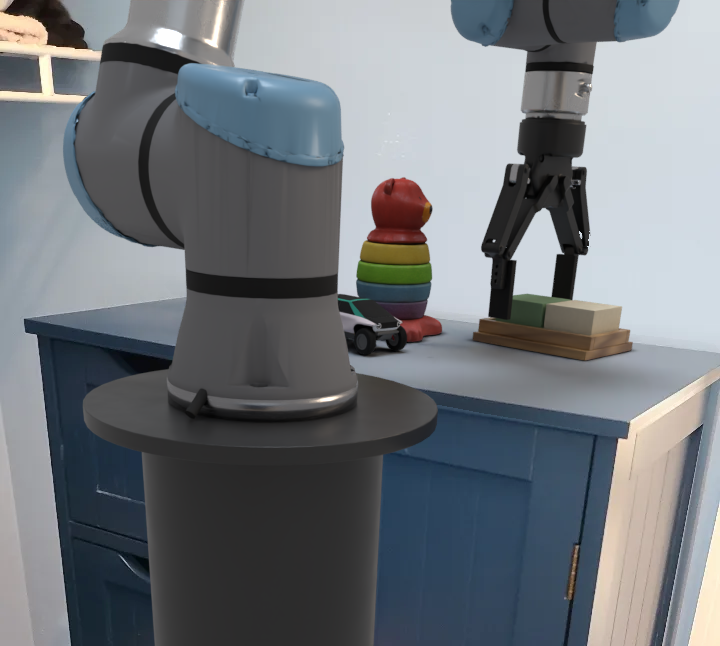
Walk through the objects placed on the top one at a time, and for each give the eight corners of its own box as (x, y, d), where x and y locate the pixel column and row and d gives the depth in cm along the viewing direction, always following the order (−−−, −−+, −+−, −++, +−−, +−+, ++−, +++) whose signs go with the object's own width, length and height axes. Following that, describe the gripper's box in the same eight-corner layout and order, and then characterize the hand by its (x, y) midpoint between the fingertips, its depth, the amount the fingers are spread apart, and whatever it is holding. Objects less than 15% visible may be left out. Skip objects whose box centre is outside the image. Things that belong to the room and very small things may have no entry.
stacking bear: (414, 343, 114) (424, 179, 106) (339, 334, 117) (343, 175, 109) (446, 332, 122) (458, 179, 114) (375, 324, 126) (382, 175, 118)
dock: (585, 360, 108) (588, 338, 107) (472, 340, 118) (474, 319, 117) (631, 350, 116) (635, 329, 114) (522, 332, 125) (524, 312, 124)
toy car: (338, 336, 117) (340, 290, 114) (407, 352, 109) (410, 303, 106) (301, 340, 113) (301, 293, 111) (369, 356, 105) (371, 306, 103)
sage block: (538, 338, 114) (542, 303, 112) (494, 330, 118) (497, 297, 116) (566, 333, 119) (571, 299, 117) (523, 326, 122) (526, 293, 121)
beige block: (589, 346, 110) (594, 310, 108) (542, 338, 114) (546, 303, 112) (617, 341, 115) (622, 306, 113) (570, 333, 118) (575, 299, 117)
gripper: (519, 110, 97) (497, 326, 107) (636, 124, 114) (608, 309, 123) (460, 110, 101) (444, 317, 111) (582, 123, 118) (559, 302, 128)
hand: (531, 314), depth 117 cm, fingers open, 13 cm apart
